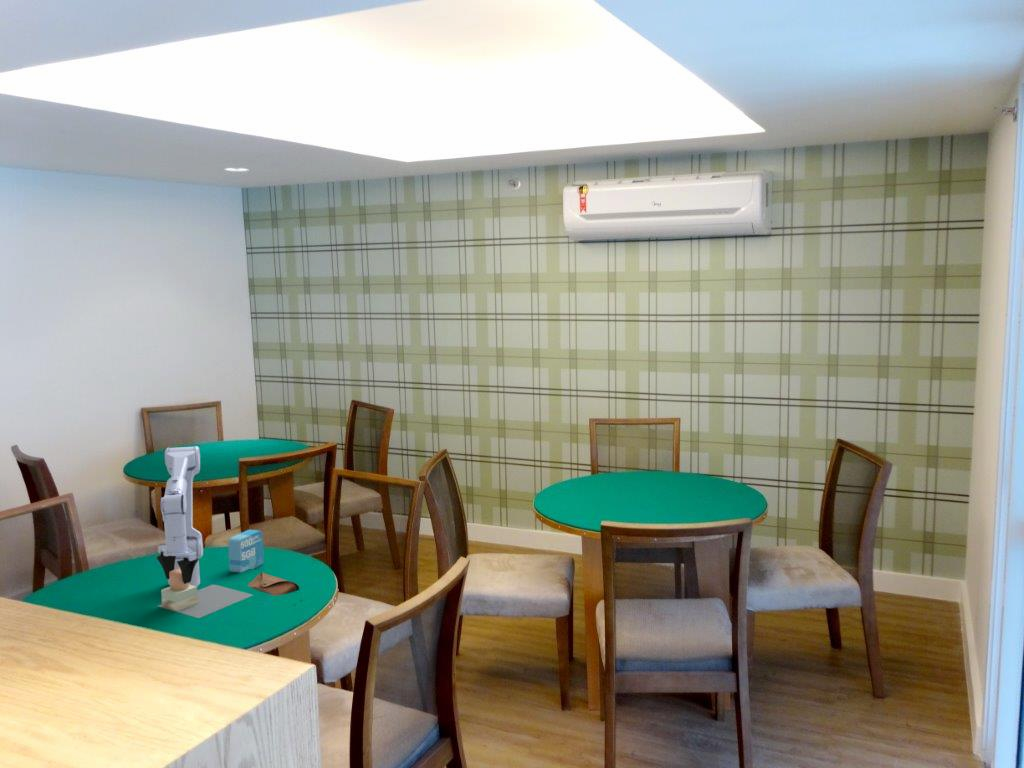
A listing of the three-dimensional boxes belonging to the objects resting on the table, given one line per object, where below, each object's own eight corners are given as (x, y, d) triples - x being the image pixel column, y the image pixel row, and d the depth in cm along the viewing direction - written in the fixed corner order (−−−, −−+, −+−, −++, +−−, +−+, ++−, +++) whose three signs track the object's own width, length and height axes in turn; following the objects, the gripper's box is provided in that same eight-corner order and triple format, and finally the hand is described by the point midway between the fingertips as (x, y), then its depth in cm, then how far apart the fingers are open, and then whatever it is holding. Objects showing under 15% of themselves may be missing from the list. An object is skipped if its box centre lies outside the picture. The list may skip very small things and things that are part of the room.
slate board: (157, 609, 248) (157, 605, 248) (213, 587, 265) (213, 584, 265) (198, 621, 239) (198, 618, 238) (253, 598, 256) (253, 594, 255)
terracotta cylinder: (166, 588, 247) (165, 572, 247) (182, 583, 251) (181, 567, 251) (176, 592, 245) (175, 575, 244) (192, 587, 249) (191, 570, 248)
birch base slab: (162, 606, 247) (161, 598, 247) (182, 598, 253) (182, 590, 253) (177, 611, 244) (177, 602, 243) (198, 602, 250) (197, 594, 249)
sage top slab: (161, 598, 247) (161, 589, 247) (182, 590, 253) (181, 582, 253) (177, 602, 243) (176, 594, 243) (197, 594, 249) (197, 586, 249)
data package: (240, 575, 275) (238, 540, 273) (229, 574, 277) (227, 538, 275) (264, 564, 286) (262, 529, 284) (253, 562, 288) (251, 528, 286)
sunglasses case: (240, 588, 263) (248, 567, 265) (256, 593, 269) (264, 573, 271) (278, 600, 253) (286, 578, 255) (294, 605, 258) (302, 584, 260)
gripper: (147, 535, 246) (150, 580, 248) (180, 542, 239) (183, 589, 240) (168, 528, 252) (171, 572, 254) (201, 535, 245) (203, 581, 246)
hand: (178, 580), depth 248 cm, fingers open, 7 cm apart
